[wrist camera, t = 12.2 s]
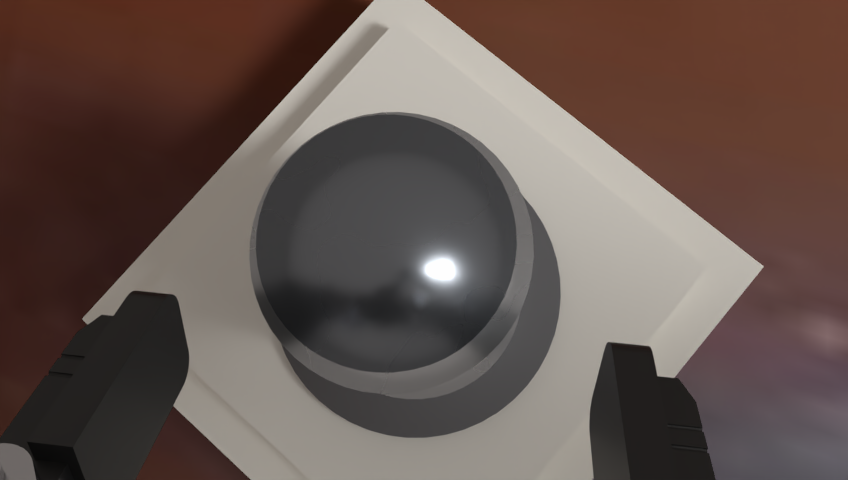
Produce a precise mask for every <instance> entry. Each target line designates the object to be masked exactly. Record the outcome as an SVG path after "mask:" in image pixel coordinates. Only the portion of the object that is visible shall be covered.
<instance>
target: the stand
mask: <svg viewBox="0 0 848 480" xmlns="http://www.w3.org/2000/svg"><path fill="white" fill-rule="evenodd" d="M381 112H405V113H414V114H420V115H424V116H429V117H433V118H436V119H439V120H442V121H444V122H447V123H450V124H452V125H454V126H456V127H458V128H460V129H462V130H464V131H465V132H467V133H469V134H470V135H472V136H473V137H475V138H476V139H477V140H479V141H480V142H482V143H483V144H484V145H485V146H486V147H487V148H488V149H489V150H490V151H492V152H493V153H494V154H495V155H496V156H497V157H498V159H499V160H500V161H501V162H502V163H503V165H504V166H505V167H506V168H507V170H508V171H509V173H510V174H511V176H512V177H513V179H514V181H515V182H516V184H517V185H518V188H519V190H520V192H521V194H522V196H523V199H524V201H525V204H526V207H527V210H528V213H529V217H530V221H531V227H532V233H533V245H534V260H533V269H532V277H531V281H530V285H529V289H528V293H527V296H526V298H525V301H524V303H523V306H522V309H521V311H520V315H519V319H518V323H517V326H516V328H515V331H514V334H513V336H512V338H511V340H510V342H509V344H508V346H507V347H506V349H505V351H504V352H503V353H502V355H501V356H500V357H499V359H498V360H497V361H496V362H495V363H494V364H493V365H492V367H491V368H490V369H489V370H488V371H487V372H485V373H484V374H483V375H482V376H480V377H479V378H478V379H477V380H475V381H474V382H472V383H470V384H469V385H467V386H465V387H463V388H461V389H459V390H457V391H454V392H452V393H449V394H446V395H442V396H439V397H434V398H427V399H402V398H395V397H390V396H386V395H383V394H377V393H370V392H362V391H358V390H354V389H351V388H347V387H343V386H341V385H338V384H336V383H334V382H331V381H329V380H327V379H325V378H323V377H321V376H320V375H318V374H316V373H315V372H313V371H311V370H310V369H308V368H307V367H306V366H304V365H303V364H302V363H301V362H299V361H298V360H297V359H296V358H294V357H293V356H292V355H291V353H290V352H289V351H288V350H287V349H286V348H285V347H284V346H283V345H282V344H281V343H280V341H279V340H278V339H277V337H276V336H275V334H274V333H273V332H272V330H271V329H270V327H269V325H268V323H267V322H266V320H265V318H264V316H263V314H262V312H261V309H260V307H259V304H258V302H257V299H256V296H255V292H254V288H253V284H252V279H251V272H250V261H249V253H250V238H251V232H252V226H253V221H254V218H255V214H256V211H257V208H258V205H259V203H260V200H261V198H262V196H263V194H264V192H265V189H266V188H267V186H268V184H269V183H270V181H271V179H272V178H273V176H274V175H275V173H276V172H277V170H278V169H279V168H280V167H281V166H282V164H283V163H284V162H285V161H286V159H287V158H288V157H289V156H290V155H291V154H292V153H293V152H295V151H296V150H297V149H298V148H299V147H300V146H301V145H302V144H304V143H305V142H306V141H308V140H309V139H310V138H312V137H313V136H314V135H316V134H318V133H320V132H321V131H323V130H325V129H327V128H328V127H330V126H333V125H335V124H338V123H340V122H342V121H345V120H347V119H351V118H355V117H358V116H362V115H367V114H374V113H381ZM763 267H764V266H762V265H761V264H760V263H759V262H757V261H756V260H755V259H753V258H752V257H751V256H750V255H748V254H747V253H746V252H745V251H743V250H742V249H741V248H739V247H738V246H737V245H736V244H734V243H733V242H732V241H730V240H729V239H728V238H727V237H725V236H724V235H723V234H722V233H720V232H719V231H718V230H716V229H715V228H714V227H713V226H711V225H710V224H709V223H708V222H706V221H705V220H704V219H702V218H701V217H700V216H699V215H697V214H696V213H695V212H694V211H692V210H691V209H690V208H688V207H687V206H686V205H685V204H683V203H682V202H681V201H679V200H678V199H677V198H676V197H674V196H673V195H672V194H671V193H669V192H668V191H667V190H665V189H664V188H663V187H662V186H660V185H659V184H658V183H657V182H655V181H654V180H653V179H651V178H650V177H649V176H648V175H646V174H645V173H644V172H642V171H641V170H640V169H639V168H637V167H636V166H635V165H634V164H632V163H631V162H630V161H628V160H627V159H626V158H625V157H623V156H622V155H621V154H620V153H618V152H617V151H616V150H614V149H613V148H612V147H611V146H609V145H608V144H607V143H606V142H604V141H603V140H602V139H600V138H599V137H598V136H597V135H595V134H594V133H593V132H591V131H590V130H589V129H588V128H586V127H585V126H584V125H583V124H581V123H580V122H579V121H577V120H576V119H575V118H574V117H572V116H571V115H570V114H569V113H567V112H566V111H565V110H563V109H562V108H561V107H560V106H558V105H557V104H556V103H555V102H553V101H552V100H551V99H549V98H548V97H547V96H546V95H544V94H543V93H542V92H540V91H539V90H538V89H537V88H535V87H534V86H533V85H532V84H530V83H529V82H528V81H526V80H525V79H524V78H523V77H521V76H520V75H519V74H518V73H516V72H515V71H514V70H512V69H511V68H510V67H509V66H507V65H506V64H505V63H504V62H502V61H501V60H500V59H498V58H497V57H496V56H495V55H493V54H492V53H491V52H489V51H488V50H487V49H486V48H484V47H483V46H482V45H481V44H479V43H478V42H477V41H475V40H474V39H473V38H472V37H470V36H469V35H468V34H467V33H465V32H464V31H463V30H461V29H460V28H459V27H458V26H456V25H455V24H454V23H452V22H451V21H450V20H449V19H447V18H446V17H445V16H444V15H442V14H441V13H440V12H438V11H437V10H436V9H435V8H433V7H432V6H431V5H430V4H428V3H427V2H426V1H424V0H374V1H373V2H372V3H371V4H370V5H369V6H368V8H367V9H366V10H365V11H364V12H363V13H362V14H361V15H360V16H359V17H358V18H357V20H356V21H355V22H354V23H353V24H352V25H351V26H350V27H349V28H348V29H347V30H346V32H345V33H344V34H343V35H342V36H341V37H340V38H339V39H338V40H337V41H336V42H335V44H334V45H333V46H332V47H331V48H330V49H329V50H328V51H327V52H326V53H325V54H324V56H323V57H322V58H321V59H320V60H319V61H318V62H317V63H316V64H315V65H314V66H313V68H312V69H311V70H310V71H309V72H308V73H307V74H306V75H305V76H304V77H303V78H302V80H301V81H300V82H299V83H298V84H297V85H296V86H295V87H294V88H293V89H292V90H291V92H290V93H289V94H288V95H287V96H286V97H285V98H284V99H283V100H282V101H281V102H280V104H279V105H278V106H277V107H276V108H275V109H274V110H273V111H272V112H271V113H270V114H269V116H268V117H267V118H266V119H265V120H264V121H263V122H262V123H261V124H260V125H259V126H258V127H257V129H256V130H255V131H254V132H253V133H252V134H251V135H250V136H249V137H248V138H247V139H246V141H245V142H244V143H243V144H242V145H241V146H240V147H239V148H238V149H237V150H236V151H235V153H234V154H233V155H232V156H231V157H230V158H229V159H228V160H227V161H226V162H225V163H224V165H223V166H222V167H221V168H220V169H219V170H218V171H217V172H216V173H215V174H214V175H213V177H212V178H211V179H210V180H209V181H208V182H207V183H206V184H205V185H204V186H203V187H202V189H201V190H200V191H199V192H198V193H197V194H196V195H195V196H194V197H193V198H192V199H191V201H190V202H189V203H188V204H187V205H186V206H185V207H184V208H183V209H182V210H181V211H180V213H179V214H178V215H177V216H176V217H175V218H174V219H173V220H172V221H171V222H170V223H169V225H168V226H167V227H166V228H165V229H164V230H163V231H162V232H161V233H160V234H159V235H158V237H157V238H156V239H155V240H154V241H153V242H152V243H151V244H150V245H149V246H148V247H147V248H146V250H145V251H144V252H143V253H142V254H141V255H140V256H139V257H138V258H137V259H136V260H135V262H134V263H133V264H132V265H131V266H130V267H129V268H128V269H127V270H126V271H125V272H124V274H123V275H122V276H121V277H120V278H119V279H118V280H117V281H116V282H115V283H114V284H113V286H112V287H111V288H110V289H109V290H108V291H107V292H106V293H105V294H104V295H103V296H102V298H101V299H100V300H99V301H98V302H97V303H96V304H95V305H94V306H93V307H92V308H91V310H90V311H89V312H88V313H87V314H86V315H85V316H84V317H83V318H82V320H83V321H84V322H85V323H86V324H87V325H88V324H89V323H91V322H92V321H94V320H95V319H96V318H98V317H99V316H100V315H110V316H114V314H115V313H116V311H117V310H118V309H119V307H120V306H121V304H122V303H123V301H124V300H125V298H126V297H127V296H128V294H129V293H131V292H132V291H145V292H155V293H164V294H173V295H175V296H176V298H177V299H178V302H179V307H180V312H181V316H182V321H183V326H184V331H185V336H186V340H187V345H188V350H189V368H188V373H187V377H186V380H185V383H184V385H183V388H182V390H181V391H180V393H179V395H178V397H177V399H176V401H175V403H174V405H173V406H174V407H175V408H176V409H177V410H178V411H179V412H180V413H181V414H182V415H183V416H184V417H185V418H186V419H187V420H189V421H190V422H191V423H192V424H193V425H194V426H195V427H196V428H197V429H198V430H199V431H200V432H201V433H202V434H203V435H204V436H205V437H206V438H207V439H209V440H210V441H211V442H212V443H213V444H214V445H215V446H216V447H217V448H218V449H219V450H220V451H221V452H222V453H223V454H224V455H225V456H226V457H227V458H229V459H230V460H231V461H232V462H233V463H234V464H235V465H236V466H237V467H238V468H239V469H240V470H241V471H242V472H243V473H244V474H245V475H246V476H247V477H249V478H250V479H251V480H592V479H593V478H594V476H593V465H592V454H591V443H590V431H589V419H590V407H591V401H592V396H593V392H594V388H595V384H596V380H597V377H598V373H599V369H600V365H601V361H602V357H603V353H604V349H605V346H606V344H607V343H608V342H616V343H625V344H635V345H644V346H650V347H651V349H652V352H653V357H654V362H655V366H656V371H657V376H661V377H670V378H674V377H675V376H676V375H677V374H678V372H679V371H680V370H681V369H682V367H683V366H684V365H685V364H686V362H687V361H688V360H689V359H690V358H691V356H692V355H693V354H694V353H695V351H696V350H697V349H698V348H699V346H700V345H701V344H702V343H703V341H704V340H705V339H706V338H707V336H708V335H709V334H710V333H711V331H712V330H713V329H714V328H715V327H716V325H717V324H718V323H719V322H720V320H721V319H722V318H723V317H724V315H725V314H726V313H727V312H728V310H729V309H730V308H731V307H732V305H733V304H734V303H735V302H736V300H737V299H738V298H739V297H740V296H741V294H742V293H743V292H744V291H745V289H746V288H747V287H748V286H749V284H750V283H751V282H752V281H753V279H754V278H755V277H756V276H757V274H758V273H759V272H760V271H761V269H762V268H763Z"/></svg>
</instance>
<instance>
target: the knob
mask: <svg viewBox="0 0 848 480" xmlns="http://www.w3.org/2000/svg"><path fill="white" fill-rule="evenodd" d="M533 260H534V245H533V233H532V227H531V221H530V217H529V213H528V210H527V207H526V204H525V201H524V199H523V196H522V194H521V192H520V190H519V188H518V185H517V184H516V182H515V181H514V179H513V177H512V176H511V174H510V173H509V171H508V170H507V168H506V167H505V166H504V165H503V163H502V162H501V161H500V160H499V159H498V157H497V156H496V155H495V154H494V153H493V152H492V151H490V150H489V149H488V148H487V147H486V146H485V145H484V144H483V143H482V142H480V141H479V140H477V139H476V138H475V137H473V136H472V135H470V134H469V133H467V132H465V131H464V130H462V129H460V128H458V127H456V126H454V125H452V124H450V123H447V122H444V121H442V120H439V119H436V118H433V117H429V116H424V115H420V114H414V113H405V112H381V113H374V114H367V115H362V116H358V117H355V118H351V119H347V120H345V121H342V122H340V123H338V124H335V125H333V126H330V127H328V128H327V129H325V130H323V131H321V132H320V133H318V134H316V135H314V136H313V137H312V138H310V139H309V140H308V141H306V142H305V143H304V144H302V145H301V146H300V147H299V148H298V149H297V150H296V151H295V152H293V153H292V154H291V155H290V156H289V157H288V158H287V159H286V161H285V162H284V163H283V164H282V166H281V167H280V168H279V169H278V170H277V172H276V173H275V175H274V176H273V178H272V179H271V181H270V183H269V184H268V186H267V188H266V189H265V192H264V194H263V196H262V198H261V200H260V203H259V205H258V208H257V211H256V214H255V218H254V221H253V226H252V232H251V238H250V253H249V261H250V272H251V279H252V284H253V288H254V292H255V296H256V299H257V302H258V304H259V307H260V309H261V312H262V314H263V316H264V318H265V320H266V322H267V323H268V325H269V327H270V329H271V330H272V332H273V333H274V334H275V336H276V337H277V339H278V340H279V341H280V343H281V344H282V345H283V346H284V347H285V348H286V349H287V350H288V351H289V352H290V353H291V355H292V356H293V357H294V358H296V359H297V360H298V361H299V362H301V363H302V364H303V365H304V366H306V367H307V368H308V369H310V370H311V371H313V372H315V373H316V374H318V375H320V376H321V377H323V378H325V379H327V380H329V381H331V382H334V383H336V384H338V385H341V386H343V387H347V388H351V389H354V390H358V391H362V392H370V393H377V394H383V395H386V396H390V397H395V398H402V399H427V398H434V397H439V396H442V395H446V394H449V393H452V392H454V391H457V390H459V389H461V388H463V387H465V386H467V385H469V384H470V383H472V382H474V381H475V380H477V379H478V378H479V377H480V376H482V375H483V374H484V373H485V372H487V371H488V370H489V369H490V368H491V367H492V365H493V364H494V363H495V362H496V361H497V360H498V359H499V357H500V356H501V355H502V353H503V352H504V351H505V349H506V347H507V346H508V344H509V342H510V340H511V338H512V336H513V334H514V331H515V328H516V326H517V323H518V319H519V315H520V311H521V309H522V306H523V303H524V301H525V298H526V296H527V293H528V289H529V285H530V281H531V277H532V269H533Z"/></svg>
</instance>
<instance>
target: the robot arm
mask: <svg viewBox="0 0 848 480" xmlns="http://www.w3.org/2000/svg"><path fill="white" fill-rule="evenodd" d="M188 368H189V350H188V345H187V340H186V336H185V331H184V326H183V321H182V316H181V312H180V307H179V302H178V299H177V298H176V296H175V295H173V294H164V293H155V292H145V291H132V292H131V293H129V294H128V296H127V297H126V298H125V300H124V301H123V303H122V304H121V306H120V307H119V309H118V310H117V311H116V313H115V314H114V316H110V315H100V316H99V317H98V318H96V319H95V320H94V321H92V322H91V323H89V324H88V325H87V326H85V327H84V328H82V329H81V330H80V331H78V332H77V333H76V335H75V336H74V337H73V339H72V340H71V341H70V343H69V344H68V346H67V347H66V348H65V350H64V351H63V352H62V356H61V358H58V359H57V361H56V362H55V363H54V365H53V366H52V368H51V369H50V370H49V375H48V376H45V377H44V378H43V380H42V381H41V383H40V384H39V385H38V387H37V388H36V389H35V391H34V392H33V394H32V395H31V396H30V398H29V399H28V400H27V402H26V403H25V404H24V406H23V407H22V409H21V410H20V411H19V413H18V414H17V415H16V417H15V418H14V420H13V421H12V422H11V424H10V425H9V426H8V428H7V429H6V431H5V432H4V433H3V435H2V436H1V437H0V480H135V479H136V477H137V475H138V474H139V472H140V470H141V468H142V466H143V464H144V462H145V460H146V458H147V456H148V454H149V452H150V450H151V448H152V446H153V444H154V442H155V440H156V438H157V436H158V434H159V432H160V431H161V429H162V427H163V425H164V423H165V421H166V419H167V417H168V415H169V413H170V411H171V409H172V407H173V405H174V403H175V401H176V399H177V397H178V395H179V393H180V391H181V390H182V388H183V385H184V383H185V380H186V377H187V373H188ZM589 431H590V443H591V454H592V465H593V476H594V480H716V479H715V475H714V471H713V467H712V464H711V460H710V456H709V453H707V449H708V448H707V444H706V440H705V436H704V432H702V424H701V420H700V416H699V412H698V408H697V404H696V401H695V400H694V399H693V397H692V396H691V395H690V393H689V392H688V391H687V389H686V388H685V387H684V385H683V384H682V383H681V381H680V380H679V379H678V378H670V377H661V376H657V371H656V366H655V362H654V357H653V352H652V349H651V347H650V346H644V345H635V344H625V343H616V342H608V343H607V344H606V346H605V349H604V353H603V357H602V361H601V365H600V369H599V373H598V377H597V380H596V384H595V388H594V392H593V396H592V401H591V407H590V419H589Z"/></svg>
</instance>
